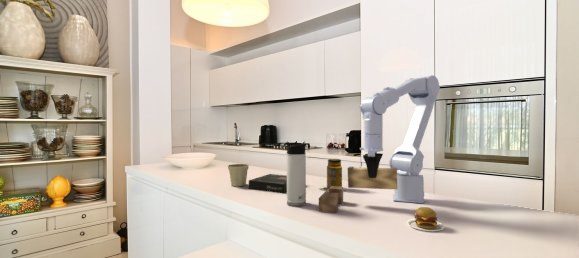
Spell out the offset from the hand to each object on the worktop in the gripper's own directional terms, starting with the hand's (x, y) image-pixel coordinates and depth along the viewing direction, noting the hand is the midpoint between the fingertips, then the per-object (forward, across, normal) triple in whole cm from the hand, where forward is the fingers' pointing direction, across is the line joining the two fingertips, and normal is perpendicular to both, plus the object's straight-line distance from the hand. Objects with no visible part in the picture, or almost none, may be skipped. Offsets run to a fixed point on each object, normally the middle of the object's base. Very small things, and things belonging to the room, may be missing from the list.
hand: (373, 176), depth 95 cm
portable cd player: (+10, -17, -40) cm, 44 cm away
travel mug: (+10, +5, -24) cm, 26 cm away
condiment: (+10, -20, -17) cm, 28 cm away
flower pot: (+10, -14, -57) cm, 60 cm away
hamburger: (+10, +14, +14) cm, 23 cm away
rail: (+3, 0, 0) cm, 3 cm away
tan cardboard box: (+10, +4, -12) cm, 16 cm away
